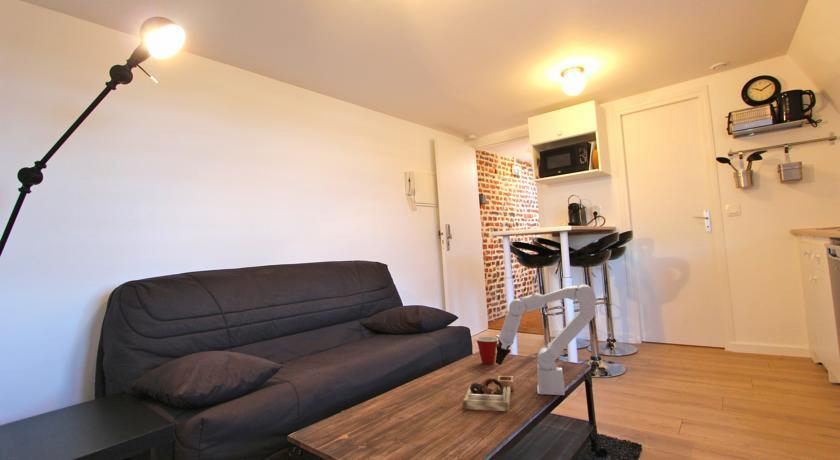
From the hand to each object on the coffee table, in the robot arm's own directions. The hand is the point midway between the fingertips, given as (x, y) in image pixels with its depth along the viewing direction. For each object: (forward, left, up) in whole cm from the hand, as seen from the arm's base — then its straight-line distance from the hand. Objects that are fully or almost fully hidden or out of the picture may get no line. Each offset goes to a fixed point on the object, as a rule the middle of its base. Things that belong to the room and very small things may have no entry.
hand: (498, 360), depth 154 cm
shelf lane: (+4, +13, -11) cm, 18 cm away
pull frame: (+2, +8, -11) cm, 14 cm away
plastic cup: (+8, -33, -11) cm, 35 cm away
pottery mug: (+4, +12, -11) cm, 17 cm away
